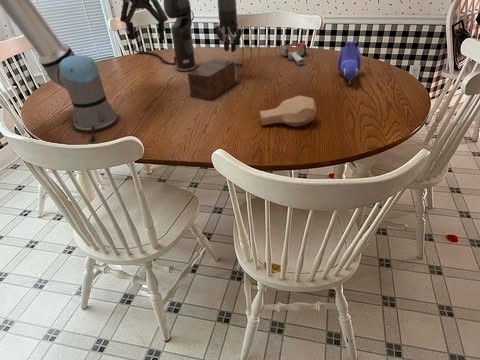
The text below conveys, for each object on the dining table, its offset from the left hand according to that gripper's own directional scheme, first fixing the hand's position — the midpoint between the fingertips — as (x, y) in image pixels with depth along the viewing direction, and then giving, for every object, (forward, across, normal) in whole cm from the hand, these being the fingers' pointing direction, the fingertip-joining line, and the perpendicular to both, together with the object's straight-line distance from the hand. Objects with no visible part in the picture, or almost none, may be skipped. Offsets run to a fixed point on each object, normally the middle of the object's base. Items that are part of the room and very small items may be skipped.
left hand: (147, 39), depth 148 cm
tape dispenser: (+20, -54, -46) cm, 74 cm away
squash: (+20, -64, +25) cm, 71 cm away
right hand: (+8, -31, -15) cm, 35 cm away
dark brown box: (+20, -27, 0) cm, 34 cm away
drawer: (+19, -28, -6) cm, 35 cm away
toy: (+20, -82, -20) cm, 87 cm away
